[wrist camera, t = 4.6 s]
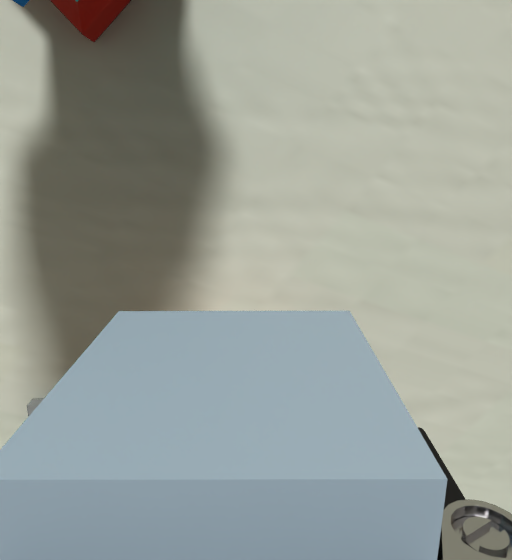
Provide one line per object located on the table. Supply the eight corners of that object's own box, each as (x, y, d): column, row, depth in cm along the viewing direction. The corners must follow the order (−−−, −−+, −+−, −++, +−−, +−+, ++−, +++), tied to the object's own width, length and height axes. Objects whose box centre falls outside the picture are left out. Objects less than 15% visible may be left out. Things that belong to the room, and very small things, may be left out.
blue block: (349, 310, 11) (447, 479, 6) (338, 503, 13) (407, 794, 7) (118, 311, 11) (-26, 480, 6) (135, 503, 13) (35, 794, 7)
